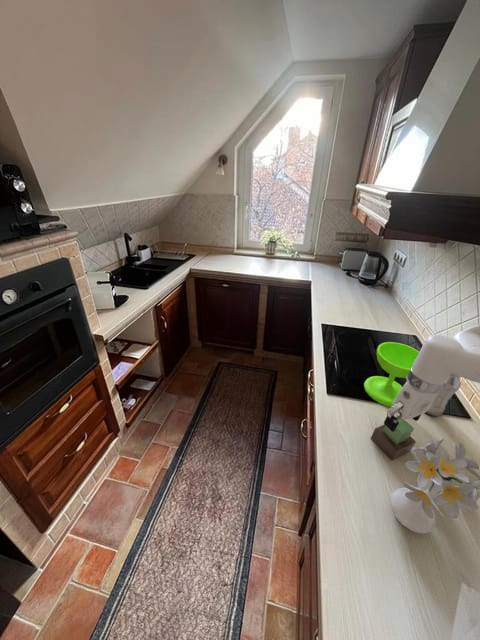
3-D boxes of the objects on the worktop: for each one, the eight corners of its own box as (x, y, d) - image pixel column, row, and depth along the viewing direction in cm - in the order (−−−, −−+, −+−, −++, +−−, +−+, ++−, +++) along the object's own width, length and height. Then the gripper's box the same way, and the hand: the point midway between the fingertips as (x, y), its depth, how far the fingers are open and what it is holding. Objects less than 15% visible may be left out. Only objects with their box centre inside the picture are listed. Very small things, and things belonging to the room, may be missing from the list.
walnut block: (388, 430, 85) (393, 420, 82) (410, 451, 78) (416, 441, 76) (370, 438, 82) (375, 428, 79) (391, 461, 75) (397, 451, 73)
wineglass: (385, 373, 108) (400, 339, 99) (419, 401, 95) (439, 365, 86) (355, 381, 104) (367, 346, 95) (385, 412, 91) (403, 374, 82)
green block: (393, 425, 80) (399, 415, 78) (408, 439, 76) (414, 428, 74) (382, 430, 79) (387, 420, 76) (396, 444, 75) (402, 434, 72)
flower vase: (366, 527, 61) (403, 470, 48) (393, 473, 72) (428, 415, 60) (428, 581, 53) (492, 531, 40) (447, 511, 64) (502, 454, 52)
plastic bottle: (419, 400, 96) (442, 359, 85) (441, 409, 92) (468, 368, 82) (418, 412, 91) (442, 370, 81) (440, 421, 88) (469, 379, 78)
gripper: (415, 399, 60) (390, 443, 69) (460, 381, 66) (432, 423, 75) (388, 378, 66) (368, 421, 74) (432, 363, 72) (409, 404, 80)
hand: (400, 422), depth 75 cm, fingers open, 9 cm apart
